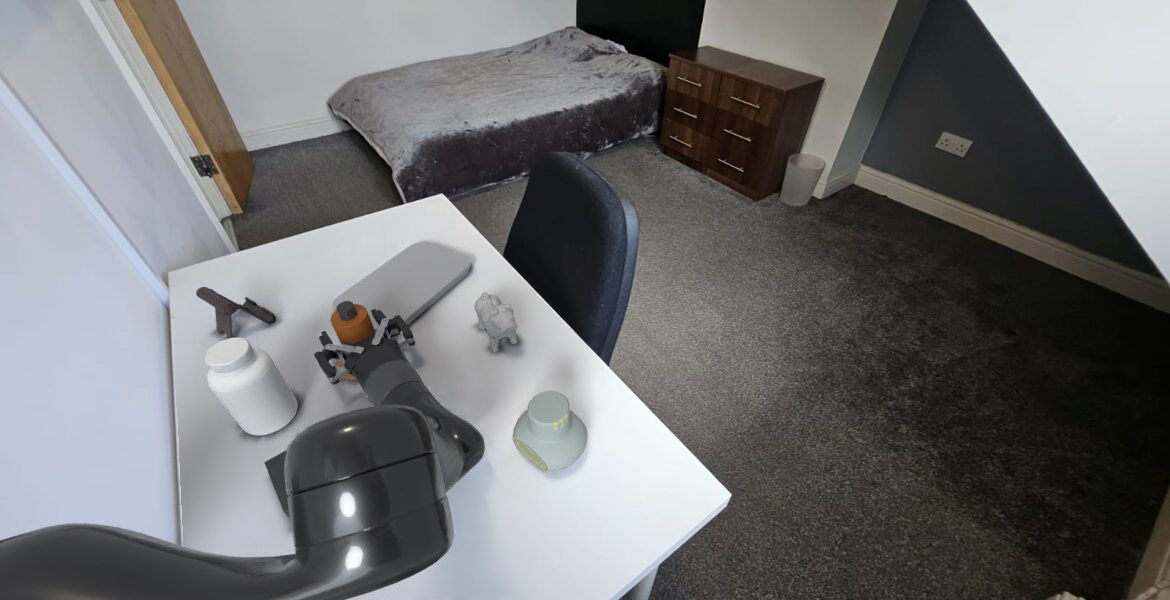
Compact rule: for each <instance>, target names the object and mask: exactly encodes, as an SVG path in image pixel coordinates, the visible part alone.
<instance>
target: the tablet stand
mask: <svg viewBox="0 0 1170 600" xmlns="http://www.w3.org/2000/svg"><path fill="white" fill-rule="evenodd" d="M195 295H196V296H197V297H198V298H199V299H200V300H202V301H204V302H205V303H207V304H209V305H210V306H212V307H213V308H214V311H215V325H216V332H217V334H219V335H223V331H224V332H225V334H226V339H229V338H233V321H232V320H233V319H232V315H234V314H235V313H236V312H237V311H239V310H241V311H243V312H245V313H247V314H248V315H250V316H252V317H254V318H256V319H257V320H260V321H261V322H263V323H265V324H267V325H273V324H275V323H276V321H277V319H278V318H277V317H278V316H276V314H274V312H272V311H271V310H270V309H268V308H266V307H264V306H260V305H259V304H258V303H257V302H256V301H254V300H252V299H250V298H249V297H247V296H245V297H244V300H245V302H244V303H243V304H240V303H237V302H235V301H233V300H231V299H229V298H228V297H226V296H225V295H222V294H220V293H218V292H217V291H215V289H212V288H209V287H207V286H201V287H199V288H198V289H197V290H196V292H195Z"/></svg>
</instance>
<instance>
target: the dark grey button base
mask: <svg viewBox="0 0 1170 600" xmlns="http://www.w3.org/2000/svg"><path fill="white" fill-rule="evenodd" d="M286 452H287V449H286V450H284V451H282V452H281V453H279V454H277V455H275V456H273V457H271V458H269V459H267V460H266V461H264V462H263V464H264V466H265V468H266V471H267V473H268V476H269V478H270V479H269V480H270V481H271V483H272V485H273V488H274V489H273V490H274V492H275V494H276V496H277V499H278V501H279V503H280V506H281V509H282V511H283V513H284V514H285V515H286V516H287V518H288V519H290V513H289V506H288V499H287V498H288V497H289V496H291V495H287V492H286V485H285V456H286Z"/></svg>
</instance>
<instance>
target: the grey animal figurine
mask: <svg viewBox="0 0 1170 600" xmlns="http://www.w3.org/2000/svg"><path fill="white" fill-rule="evenodd" d="M474 310H475V313H476V316H477V321H478V328H479V329H480V330H485V329H486V332H487V335H488V336H489V338H490V347H491V351H492V352H494V353H496V352H498V351H499V350H500V348H499V342H500V340H501V339H503V338H508V339H509V342H510V344H513V345H516V344H517V343H518V339H517V334H516V330H517V329H518V327H519V324H518V323H517V321H516V318H515V313H514V310H513V308H512V305H511V304H510V303H503V302H502V300H501V298H499V297H498V296H497V295H496V294H489V293H488V292H486V291H483V292H481V296H479V298H477V299H476V300H475V301H474Z"/></svg>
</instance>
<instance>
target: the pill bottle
mask: <svg viewBox="0 0 1170 600" xmlns="http://www.w3.org/2000/svg"><path fill="white" fill-rule="evenodd" d="M204 362H205V363H206V365H207V366H208V368H209V369H208V370H207V374H206V381H207V385H208V386H209V388H210V390H211V391H212V392H213V394H215V396H216V397H217V398H218V400H219V401H220V402H221V403H222V405H223V406H224V408H225V409H226V410H227V411H228V412H229V414H230V415H231V417H233V419H234V420H235V421H236V423H237V424H238V426H239V427H240V429H242V430H243V431H244V432H245V433H247V434H249V435H251V436H267V435H270V434H273V433H275V432H278V431H280V430H281V429H283V428H284V427H286V426H287V425H288V424H289V423H291V421H292V420H293V419H294V418H295V416H296V414H297V412H298V409H299V408H298V407H299V406H298V405H299V404H298V400H297V398H296V396H295V394H294V393H293V391H292V390H291V388H290V387H289V385H288V383H287V381H286V380H285V378H284V376H283V375H282V373H281V372H280V369H279V367H278V366H277V364H276V363H275V362H274V360H273V358H272V357H271V355H270V354H269V352H267V351H266V350H264V349H261V348H259V347H253V346H252V345H251V343H250V341H248V340H247V339H246V338H242V337H232V338H229V339H227V338H225V339H223V340H221V341H218V342H216V343H215V344H213V345H212V346H211V347H210V348H209V349H208V350H207V351H206V353H205V355H204Z"/></svg>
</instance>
